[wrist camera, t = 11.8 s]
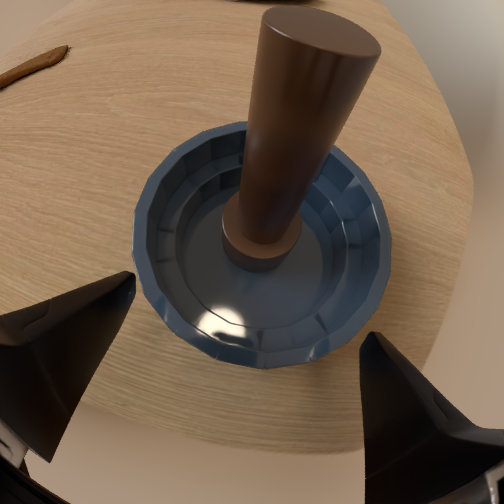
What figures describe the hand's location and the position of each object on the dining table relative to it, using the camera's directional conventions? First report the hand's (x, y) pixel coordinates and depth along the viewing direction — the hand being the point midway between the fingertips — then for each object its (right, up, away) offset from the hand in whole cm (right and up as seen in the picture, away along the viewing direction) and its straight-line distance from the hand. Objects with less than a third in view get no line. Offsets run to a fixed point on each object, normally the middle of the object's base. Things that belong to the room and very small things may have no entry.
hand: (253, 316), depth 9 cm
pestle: (0, +3, +8) cm, 9 cm away
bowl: (0, +2, +9) cm, 9 cm away
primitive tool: (-38, +31, +14) cm, 51 cm away
